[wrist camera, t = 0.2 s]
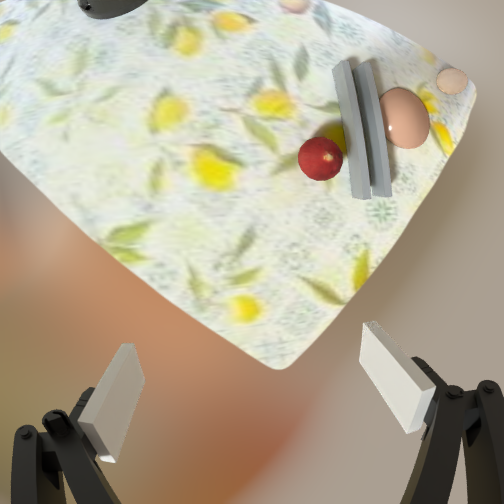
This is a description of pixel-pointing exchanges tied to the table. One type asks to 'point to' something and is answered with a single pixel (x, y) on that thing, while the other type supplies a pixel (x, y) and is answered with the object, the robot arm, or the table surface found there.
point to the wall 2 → (373, 130)
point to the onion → (320, 158)
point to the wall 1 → (352, 131)
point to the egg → (452, 81)
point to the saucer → (404, 118)
